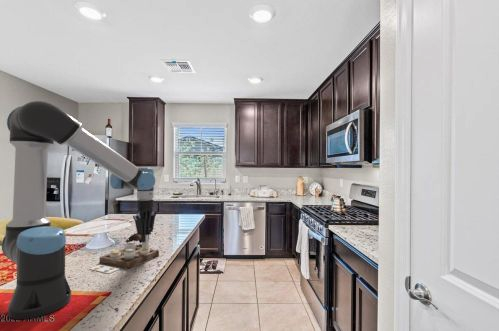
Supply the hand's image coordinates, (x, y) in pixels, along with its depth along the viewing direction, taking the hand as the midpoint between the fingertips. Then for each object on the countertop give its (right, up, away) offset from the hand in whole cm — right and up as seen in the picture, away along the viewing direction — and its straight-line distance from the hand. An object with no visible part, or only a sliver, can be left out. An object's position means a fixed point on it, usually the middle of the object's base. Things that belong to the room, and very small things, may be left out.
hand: (145, 248), depth 122 cm
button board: (-6, -4, -3) cm, 8 cm away
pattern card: (-11, -4, -15) cm, 19 cm away
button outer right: (0, -4, 0) cm, 4 cm away
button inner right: (-4, -2, -8) cm, 9 cm away
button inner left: (-12, -4, -5) cm, 13 cm away
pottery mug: (-12, -5, +18) cm, 22 cm away
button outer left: (-8, -2, +3) cm, 9 cm away
